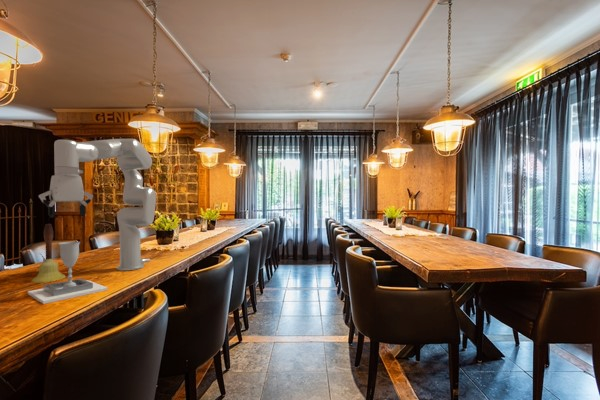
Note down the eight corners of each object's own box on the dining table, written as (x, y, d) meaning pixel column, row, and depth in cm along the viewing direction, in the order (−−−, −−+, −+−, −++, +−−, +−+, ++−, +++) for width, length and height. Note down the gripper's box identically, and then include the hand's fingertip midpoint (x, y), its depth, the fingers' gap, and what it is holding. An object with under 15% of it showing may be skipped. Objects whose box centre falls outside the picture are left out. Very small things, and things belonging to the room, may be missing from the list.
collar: (81, 283, 129) (80, 278, 129) (92, 288, 121) (92, 283, 121) (43, 290, 119) (43, 285, 119) (53, 296, 112) (53, 290, 112)
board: (88, 282, 134) (88, 280, 134) (107, 290, 122) (107, 287, 122) (27, 293, 118) (27, 291, 118) (43, 304, 106) (43, 301, 106)
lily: (50, 277, 149) (61, 258, 154) (22, 269, 146) (34, 250, 150) (56, 279, 160) (66, 261, 164) (30, 272, 156) (41, 254, 160)
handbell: (24, 283, 134) (24, 225, 134) (40, 277, 145) (39, 223, 145) (58, 281, 137) (57, 224, 137) (70, 274, 149) (70, 222, 149)
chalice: (55, 290, 120) (54, 243, 119) (74, 285, 125) (74, 241, 125) (64, 292, 116) (64, 244, 116) (84, 287, 122) (84, 242, 122)
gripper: (88, 174, 129) (89, 215, 130) (35, 171, 116) (36, 217, 116) (96, 173, 125) (96, 215, 125) (41, 170, 111) (42, 218, 111)
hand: (67, 216), depth 120 cm, fingers open, 9 cm apart
